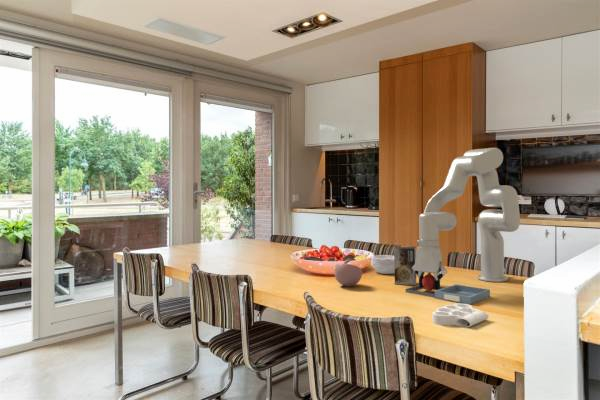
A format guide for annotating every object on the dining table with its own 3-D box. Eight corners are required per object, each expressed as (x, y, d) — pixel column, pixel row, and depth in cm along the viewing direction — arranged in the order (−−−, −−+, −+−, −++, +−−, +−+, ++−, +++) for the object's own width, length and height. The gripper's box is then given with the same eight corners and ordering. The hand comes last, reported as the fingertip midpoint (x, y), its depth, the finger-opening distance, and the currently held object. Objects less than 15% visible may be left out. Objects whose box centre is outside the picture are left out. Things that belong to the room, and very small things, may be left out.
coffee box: (416, 282, 196) (416, 246, 195) (415, 285, 189) (415, 248, 189) (395, 281, 199) (395, 245, 198) (394, 284, 192) (393, 247, 192)
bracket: (423, 286, 187) (423, 283, 187) (451, 291, 178) (451, 288, 178) (405, 291, 178) (405, 289, 178) (434, 297, 168) (433, 294, 168)
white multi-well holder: (464, 332, 129) (421, 321, 140) (493, 319, 140) (451, 310, 152) (464, 321, 129) (421, 311, 140) (493, 309, 140) (451, 301, 151)
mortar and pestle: (365, 284, 194) (365, 258, 193) (357, 290, 183) (357, 262, 183) (340, 282, 199) (339, 257, 198) (330, 287, 188) (330, 261, 188)
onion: (419, 290, 180) (419, 271, 180) (433, 289, 181) (433, 270, 180) (425, 293, 174) (424, 273, 174) (439, 293, 175) (439, 273, 175)
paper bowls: (406, 271, 222) (406, 255, 222) (396, 276, 209) (395, 260, 209) (378, 268, 230) (378, 253, 230) (366, 273, 217) (366, 257, 217)
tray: (455, 291, 178) (455, 284, 178) (489, 296, 168) (489, 289, 167) (434, 298, 167) (434, 291, 167) (469, 305, 156) (469, 297, 156)
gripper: (405, 243, 181) (405, 286, 181) (443, 246, 168) (444, 293, 169) (415, 241, 186) (415, 283, 186) (453, 244, 173) (453, 290, 174)
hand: (429, 287), depth 177 cm, fingers closed on onion, 5 cm apart
